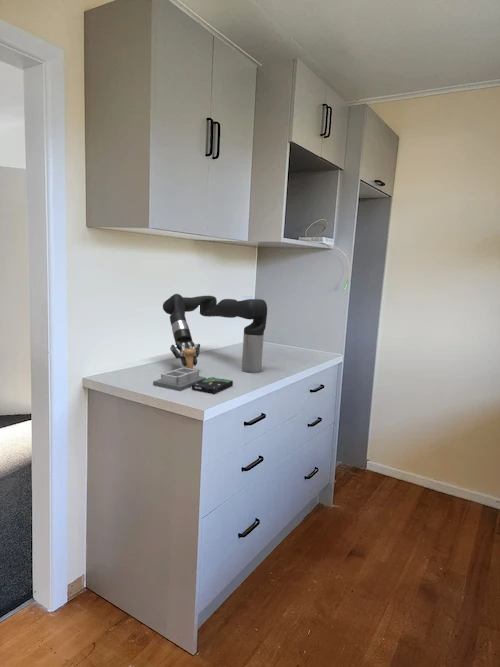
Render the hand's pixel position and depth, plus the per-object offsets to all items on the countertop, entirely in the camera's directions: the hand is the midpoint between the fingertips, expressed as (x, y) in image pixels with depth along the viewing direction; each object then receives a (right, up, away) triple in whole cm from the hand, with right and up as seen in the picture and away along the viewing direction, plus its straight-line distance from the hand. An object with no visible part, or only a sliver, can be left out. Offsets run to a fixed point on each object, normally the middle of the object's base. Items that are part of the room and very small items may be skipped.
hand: (190, 364), depth 191 cm
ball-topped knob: (-1, -4, +2) cm, 5 cm away
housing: (-2, -6, -12) cm, 14 cm away
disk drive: (+11, -9, -16) cm, 21 cm away
